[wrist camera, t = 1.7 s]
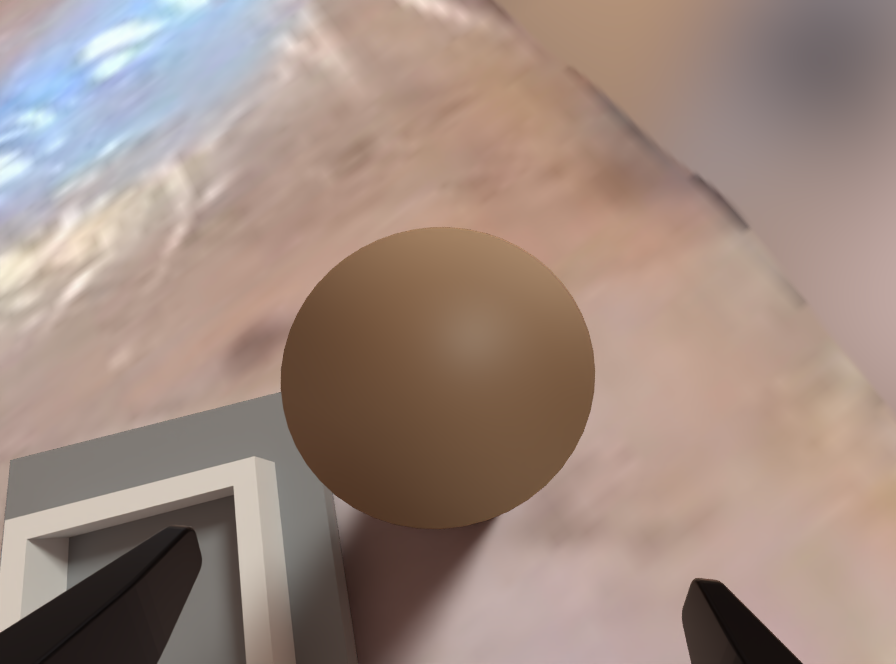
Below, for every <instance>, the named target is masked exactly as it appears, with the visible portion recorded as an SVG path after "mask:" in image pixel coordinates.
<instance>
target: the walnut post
mask: <svg viewBox="0 0 896 664" xmlns="http://www.w3.org/2000/svg"><path fill="white" fill-rule="evenodd" d="M594 383H595V365H594V354H593V348H592V344H591V340H590V335H589V331H588V329H587V326H586V324H585V321H584V318H583V316H582V313H581V312H580V310H579V308H578V306H577V304H576V302H575V301H574V299H573V297H572V296H571V294H570V293H569V291H568V290H567V289H566V287H565V286H564V285H563V283H562V282H561V281H560V280H559V279H558V278H557V277H556V276H555V275H554V273H553V272H552V271H551V270H550V269H549V268H548V267H546V266H545V265H544V264H543V263H542V262H540V261H539V260H538V259H537V258H535V257H534V256H533V255H531V254H529V253H528V252H526V251H525V250H523V249H522V248H520V247H518V246H516V245H514V244H512V243H510V242H508V241H506V240H504V239H501V238H498V237H495V236H492V235H489V234H487V233H483V232H478V231H474V230H469V229H461V228H451V227H431V228H423V229H415V230H410V231H405V232H401V233H397V234H393V235H391V236H388V237H385V238H382V239H379V240H377V241H375V242H373V243H371V244H369V245H367V246H365V247H363V248H361V249H359V250H358V251H356V252H354V253H353V254H351V255H350V256H348V257H347V258H345V259H344V260H343V261H341V262H340V263H339V264H338V265H337V266H335V267H334V268H333V269H332V270H331V271H330V272H329V273H328V274H327V275H326V276H325V277H324V278H323V279H322V280H321V281H320V282H319V283H318V284H317V285H316V287H315V288H314V289H313V291H312V292H311V293H310V294H309V296H308V297H307V298H306V300H305V302H304V303H303V305H302V307H301V309H300V310H299V312H298V314H297V316H296V318H295V320H294V323H293V325H292V327H291V329H290V332H289V335H288V339H287V342H286V345H285V349H284V354H283V361H282V367H281V395H282V404H283V410H284V414H285V418H286V422H287V426H288V429H289V431H290V434H291V436H292V438H293V441H294V443H295V446H296V448H297V449H298V451H299V453H300V454H301V456H302V458H303V459H304V461H305V463H306V464H307V466H308V467H309V468H310V469H311V471H312V472H313V473H314V474H315V475H316V477H317V478H318V479H319V480H320V481H321V482H322V483H323V484H324V485H325V486H326V487H327V488H328V489H329V490H330V491H331V492H332V493H334V494H335V495H336V496H337V497H339V498H340V499H342V500H343V501H345V502H346V503H347V504H349V505H350V506H352V507H353V508H355V509H357V510H359V511H361V512H363V513H365V514H367V515H369V516H372V517H374V518H376V519H380V520H383V521H386V522H389V523H392V524H395V525H401V526H407V527H413V528H420V529H446V528H455V527H463V526H468V525H471V524H475V523H479V522H483V521H487V520H489V519H492V518H494V517H496V516H499V515H501V514H503V513H506V512H508V511H510V510H512V509H513V508H515V507H517V506H518V505H520V504H522V503H523V502H525V501H527V500H528V499H530V498H531V497H532V496H533V495H534V494H536V493H537V492H538V491H539V490H541V489H542V488H543V487H544V486H546V485H547V484H548V482H549V481H550V480H551V479H552V478H553V477H554V476H555V475H556V474H557V473H558V472H559V471H560V470H561V468H562V467H563V466H564V464H565V463H566V461H567V460H568V458H569V457H570V455H571V454H572V453H573V451H574V449H575V447H576V445H577V443H578V441H579V439H580V437H581V436H582V434H583V432H584V429H585V426H586V423H587V420H588V417H589V414H590V410H591V405H592V400H593V394H594Z"/></svg>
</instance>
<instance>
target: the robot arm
mask: <svg viewBox="0 0 896 664" xmlns="http://www.w3.org/2000/svg"><path fill="white" fill-rule="evenodd" d="M201 566H202V554H201V550H200V546H199V543H198V539H197V535H196V531H195V529H194V528H193V527H190V526H183V525H170V526H168V527H166V528H164V529H163V530H161V531H160V532H158V533H156V534H155V535H153V536H152V537H150V538H148V539H147V540H145V541H144V542H142V543H141V544H139V545H137V546H136V547H134V548H133V549H131V550H130V551H128V552H126V553H125V554H123V555H122V556H120V557H118V558H117V559H115V560H114V561H112V562H111V563H109V564H107V565H106V566H104V567H103V568H101V569H100V570H98V571H96V572H95V573H93V574H92V575H90V576H89V577H87V578H85V579H84V580H82V581H81V582H79V583H77V584H76V585H74V586H73V587H71V588H70V589H68V590H66V591H65V592H63V593H62V594H60V595H59V596H57V597H55V598H54V599H52V600H51V601H49V602H47V603H46V604H44V605H43V606H41V607H40V608H38V609H36V610H35V611H33V612H32V613H30V614H29V615H27V616H25V617H24V618H22V619H21V620H19V621H18V622H16V623H14V624H13V625H11V626H10V627H8V628H6V629H5V630H3V631H2V632H0V664H157V663H158V661H159V659H160V657H161V655H162V653H163V651H164V649H165V647H166V645H167V643H168V641H169V638H170V636H171V634H172V632H173V630H174V627H175V625H176V623H177V621H178V619H179V616H180V614H181V612H182V610H183V608H184V605H185V603H186V601H187V599H188V596H189V594H190V592H191V590H192V588H193V585H194V583H195V581H196V579H197V577H198V574H199V572H200V569H201ZM682 623H683V628H684V632H685V637H686V642H687V646H688V651H689V655H690V660H691V664H803V663H802V662H801V661H800V660H799V659H798V658H797V657H796V656H795V655H794V654H793V653H792V652H791V651H790V650H789V649H788V648H787V647H786V646H785V645H784V644H783V643H782V642H781V641H780V640H779V639H778V638H777V637H776V636H775V635H774V634H773V633H772V632H771V631H770V630H769V629H768V628H767V627H766V626H765V625H764V624H763V623H762V622H761V621H760V620H759V619H758V618H757V617H756V616H755V615H754V614H753V613H752V612H751V611H750V610H749V609H748V608H747V607H746V606H745V605H744V604H743V603H742V602H741V601H740V600H739V599H738V598H737V597H736V596H735V595H734V594H733V593H732V592H731V591H730V590H729V589H728V588H727V587H726V586H725V585H724V584H723V583H721V582H720V581H718V580H713V579H703V578H695V579H694V580H693V581H692V582H691V585H690V588H689V591H688V594H687V597H686V600H685V603H684V606H683V610H682Z"/></svg>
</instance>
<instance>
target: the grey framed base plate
mask: <svg viewBox="0 0 896 664" xmlns="http://www.w3.org/2000/svg"><path fill="white" fill-rule="evenodd" d="M170 525H183V526H190V527H193V528H194V529H195V531H196V535H197V539H198V543H199V546H200V550H201V554H202V566H201V569H200V572H199V574H198V577H197V579H196V581H195V583H194V585H193V588H192V590H191V592H190V594H189V596H188V599H187V601H186V603H185V605H184V608H183V610H182V612H181V614H180V616H179V619H178V621H177V623H176V625H175V627H174V630H173V632H172V634H171V636H170V638H169V641H168V643H167V645H166V647H165V649H164V651H163V653H162V655H161V657H160V659H159V661H158V663H157V664H358V660H357V653H356V646H355V639H354V633H353V626H352V619H351V612H350V606H349V599H348V592H347V585H346V579H345V572H344V565H343V558H342V552H341V545H340V538H339V531H338V525H337V518H336V511H335V504H334V497H333V493H332V492H331V491H330V490H329V489H328V488H327V487H326V486H325V485H324V484H323V483H322V482H321V481H320V480H319V479H318V478H317V477H316V475H315V474H314V473H313V472H312V471H311V469H310V468H309V467H308V466H307V464H306V463H305V461H304V459H303V458H302V456H301V454H300V453H299V451H298V449H297V448H296V446H295V443H294V441H293V438H292V436H291V434H290V431H289V429H288V426H287V422H286V418H285V414H284V410H283V404H282V395H281V392H279V393H275V394H271V395H267V396H263V397H259V398H255V399H251V400H247V401H243V402H239V403H236V404H232V405H228V406H224V407H220V408H216V409H212V410H208V411H204V412H200V413H196V414H192V415H188V416H184V417H180V418H176V419H172V420H168V421H164V422H160V423H156V424H152V425H148V426H144V427H140V428H136V429H132V430H128V431H124V432H121V433H117V434H113V435H109V436H105V437H101V438H97V439H93V440H89V441H85V442H81V443H77V444H73V445H69V446H65V447H61V448H57V449H53V450H49V451H45V452H41V453H37V454H33V455H29V456H25V457H21V458H17V459H13V460H10V468H9V479H8V489H7V499H6V509H5V519H4V529H3V539H2V549H1V559H0V632H2V631H3V630H5V629H6V628H8V627H10V626H11V625H13V624H14V623H16V622H18V621H19V620H21V619H22V618H24V617H25V616H27V615H29V614H30V613H32V612H33V611H35V610H36V609H38V608H40V607H41V606H43V605H44V604H46V603H47V602H49V601H51V600H52V599H54V598H55V597H57V596H59V595H60V594H62V593H63V592H65V591H66V590H68V589H70V588H71V587H73V586H74V585H76V584H77V583H79V582H81V581H82V580H84V579H85V578H87V577H89V576H90V575H92V574H93V573H95V572H96V571H98V570H100V569H101V568H103V567H104V566H106V565H107V564H109V563H111V562H112V561H114V560H115V559H117V558H118V557H120V556H122V555H123V554H125V553H126V552H128V551H130V550H131V549H133V548H134V547H136V546H137V545H139V544H141V543H142V542H144V541H145V540H147V539H148V538H150V537H152V536H153V535H155V534H156V533H158V532H160V531H161V530H163V529H164V528H166V527H168V526H170Z"/></svg>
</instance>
